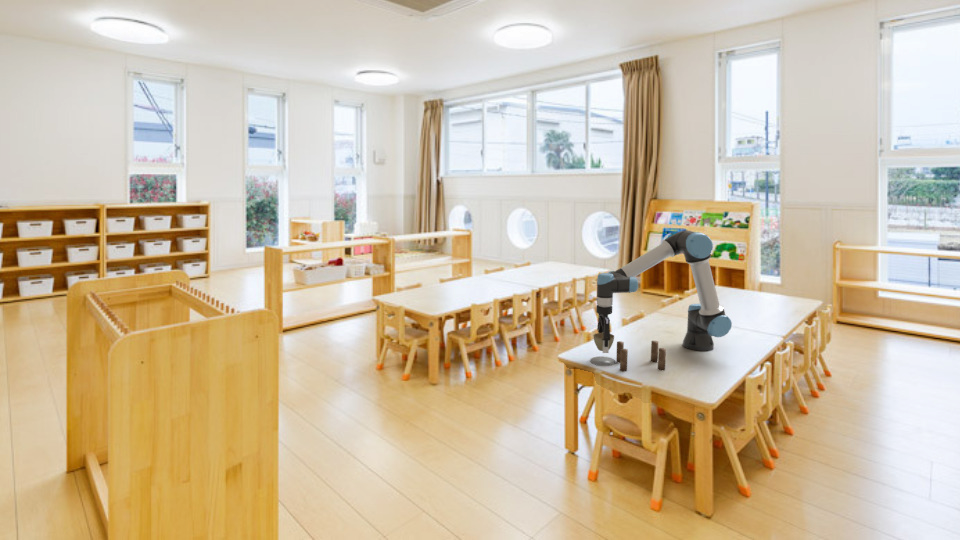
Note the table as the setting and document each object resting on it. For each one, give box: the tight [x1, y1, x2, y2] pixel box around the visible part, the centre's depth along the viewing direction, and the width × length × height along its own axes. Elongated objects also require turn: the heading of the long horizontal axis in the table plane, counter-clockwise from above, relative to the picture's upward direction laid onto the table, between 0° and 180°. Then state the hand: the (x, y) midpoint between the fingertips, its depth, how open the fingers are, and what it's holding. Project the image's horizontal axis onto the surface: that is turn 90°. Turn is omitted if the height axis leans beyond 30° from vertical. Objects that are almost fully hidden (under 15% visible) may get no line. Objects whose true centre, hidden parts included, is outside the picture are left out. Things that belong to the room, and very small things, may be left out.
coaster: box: [590, 356, 617, 367], centre depth 258 cm, size 12×12×1 cm
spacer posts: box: [615, 340, 667, 372], centre depth 250 cm, size 21×15×10 cm
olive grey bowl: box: [592, 332, 615, 352], centre depth 256 cm, size 10×10×7 cm
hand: (603, 349), depth 257 cm, fingers closed on olive grey bowl, 10 cm apart
